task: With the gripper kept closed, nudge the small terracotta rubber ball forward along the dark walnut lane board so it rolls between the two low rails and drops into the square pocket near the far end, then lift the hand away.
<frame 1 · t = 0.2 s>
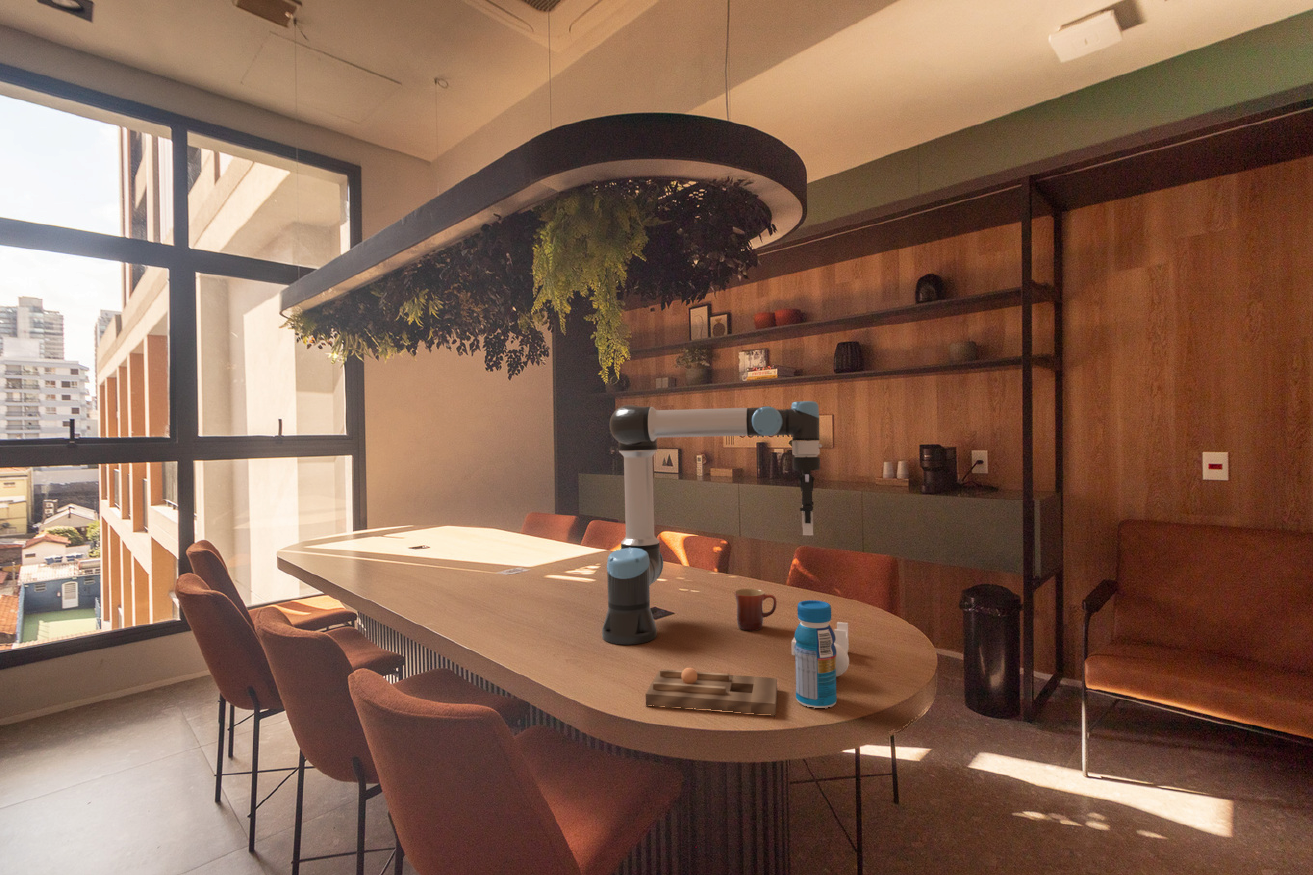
hand: (807, 531, 170), 28 cm above the table, tool pointing down, fingers open, 13 cm apart
bracket: (820, 655, 152), on the table
lane board: (713, 697, 127), on the table
ball: (689, 675, 128), point 4 cm above the table, touching lane board
pretzel: (823, 680, 136), on the table
mug: (755, 628, 173), on the table
beverage bottle: (816, 702, 124), on the table
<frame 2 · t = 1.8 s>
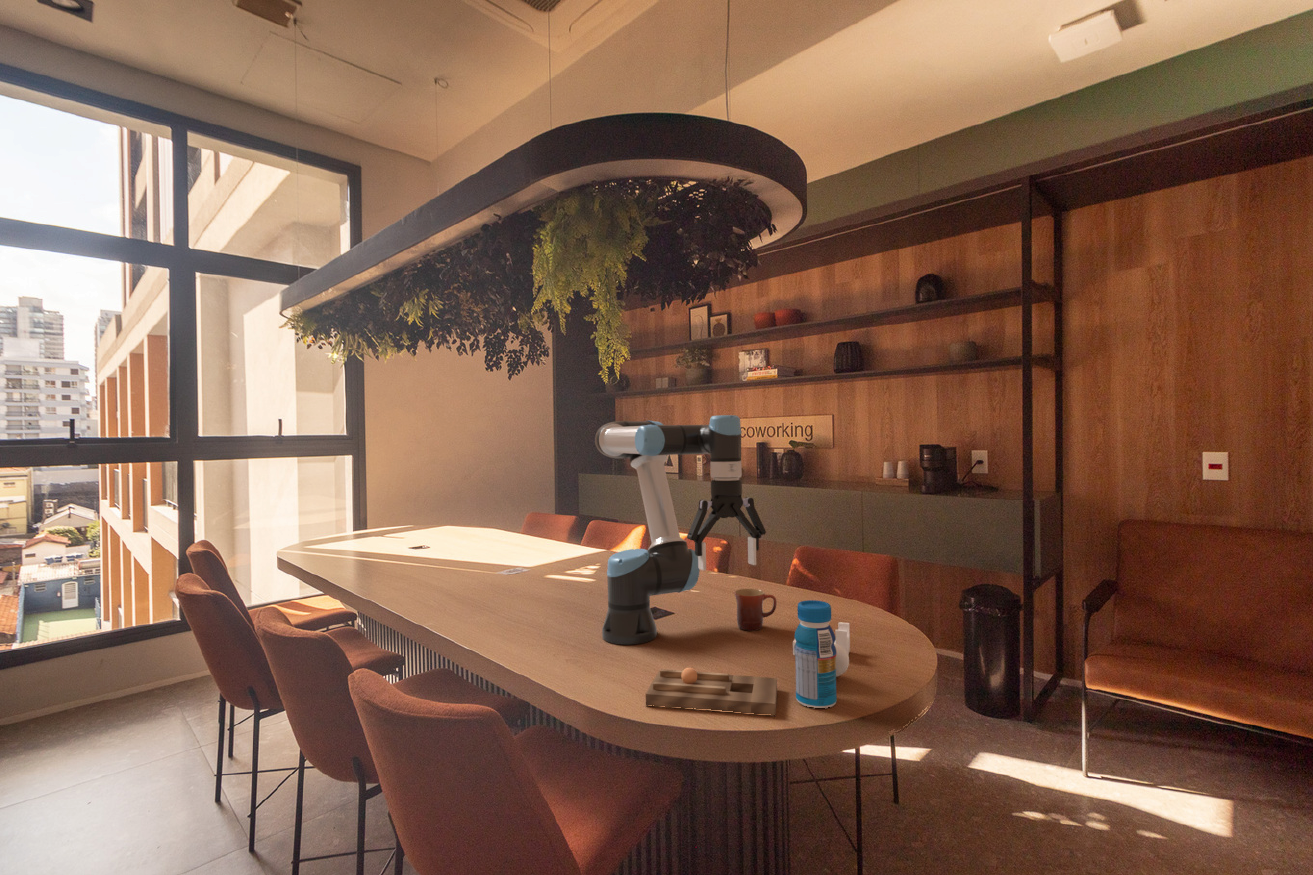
hand: (727, 566, 146), 23 cm above the table, tool pointing down, fingers open, 13 cm apart
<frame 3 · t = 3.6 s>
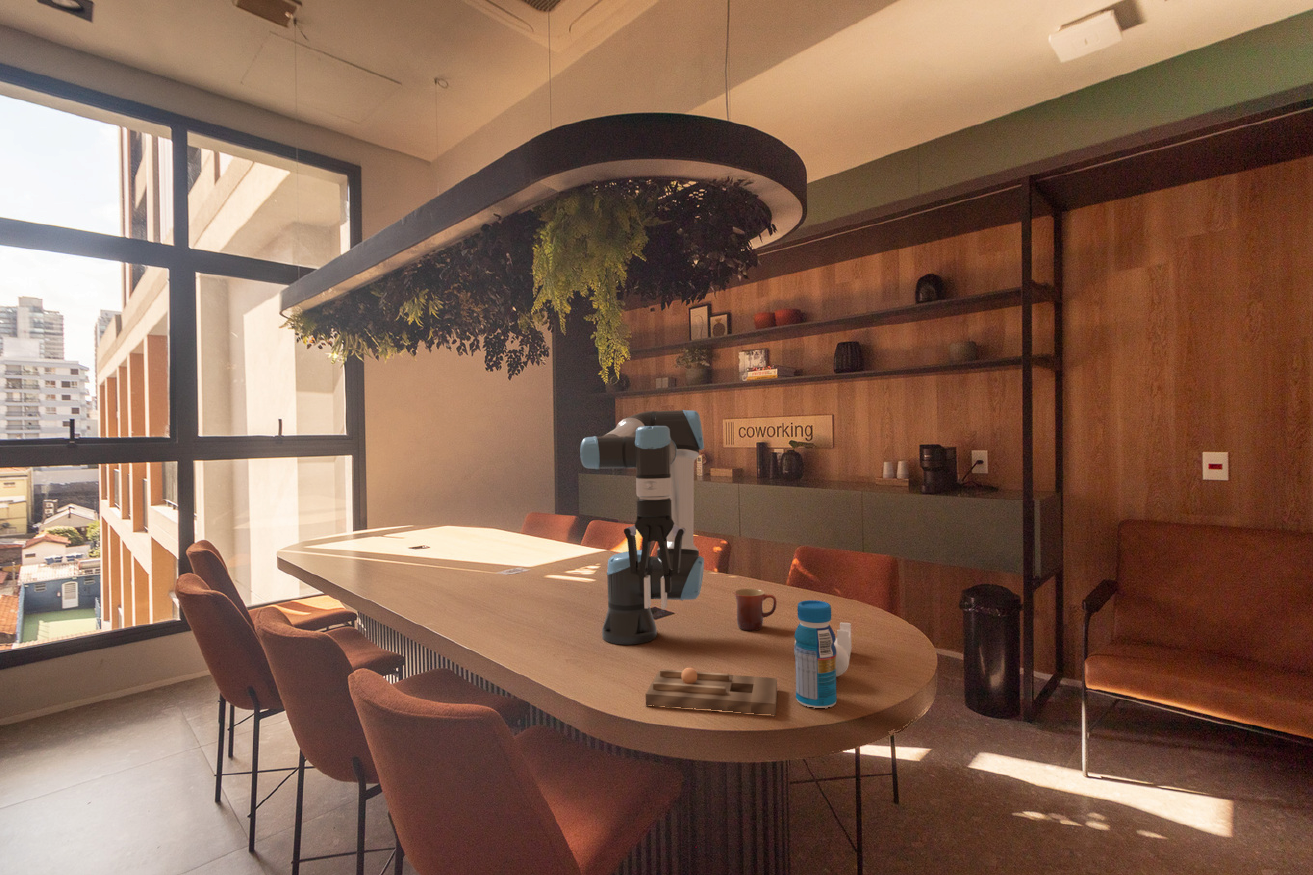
hand: (655, 606, 130), 19 cm above the table, tool pointing down, fingers open, 3 cm apart
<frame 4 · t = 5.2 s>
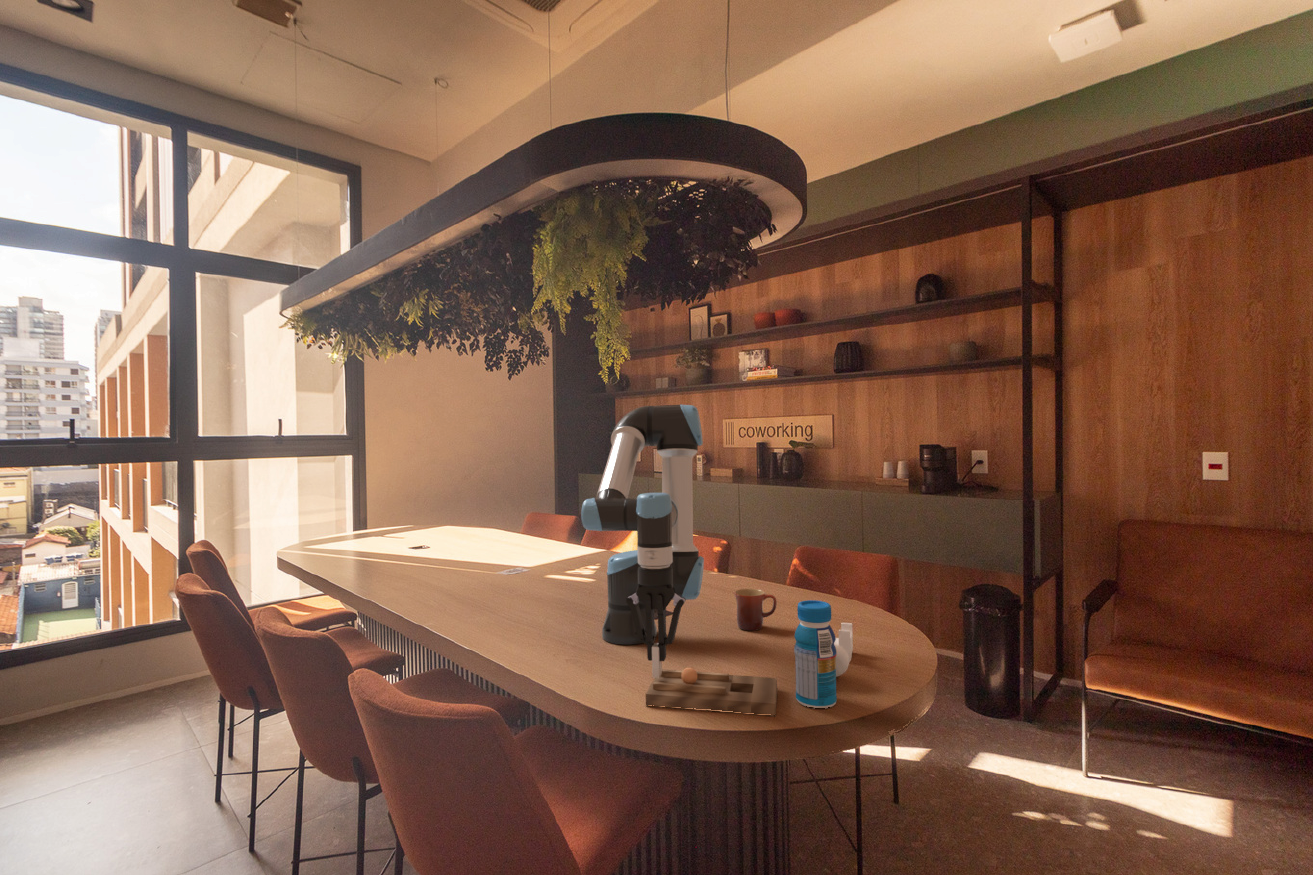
hand: (657, 675, 130), 4 cm above the table, tool pointing down, fingers closed
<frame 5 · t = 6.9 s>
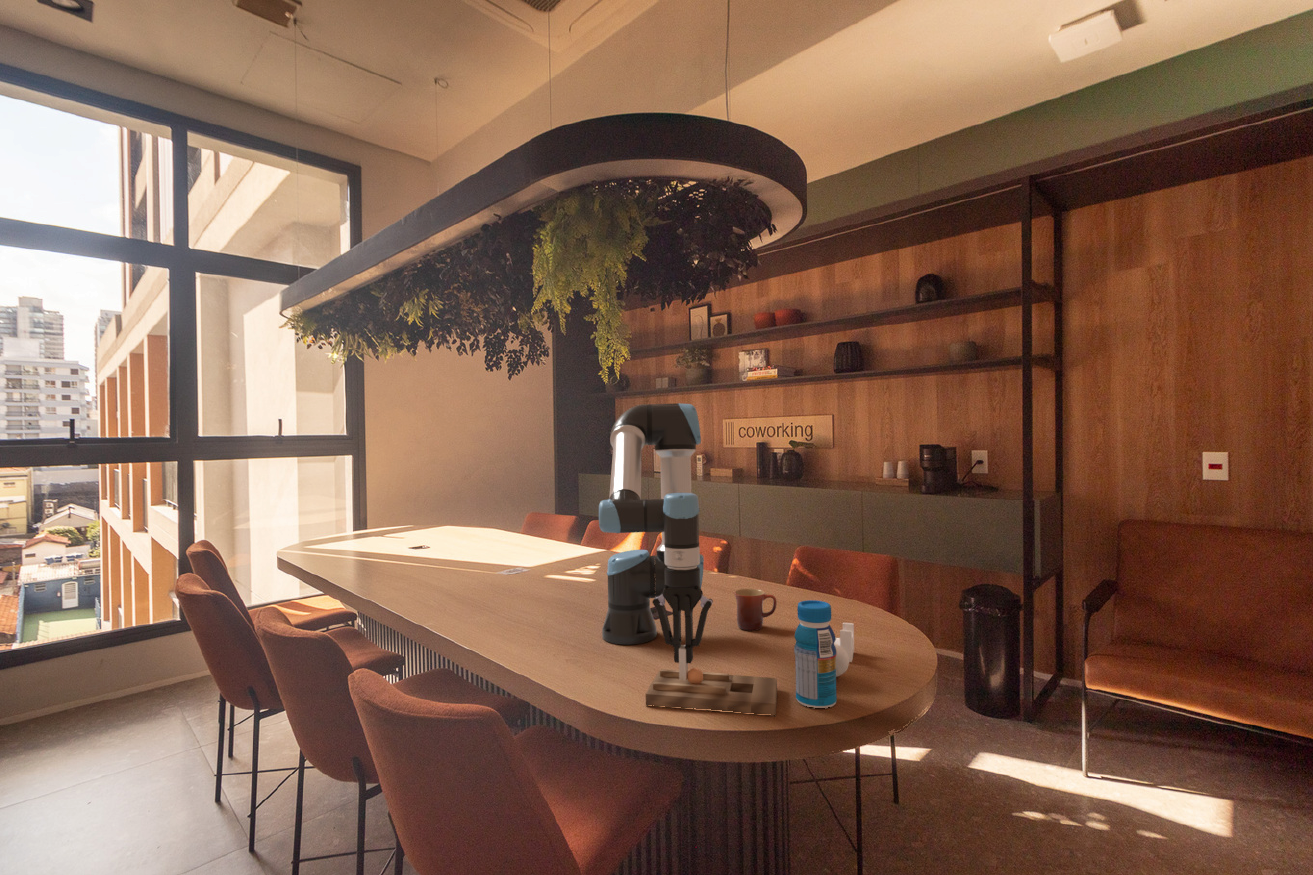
hand: (683, 677, 128), 4 cm above the table, tool pointing down, fingers closed
ball: (695, 676, 128), point 4 cm above the table, tilted 39°, touching gripper, lane board
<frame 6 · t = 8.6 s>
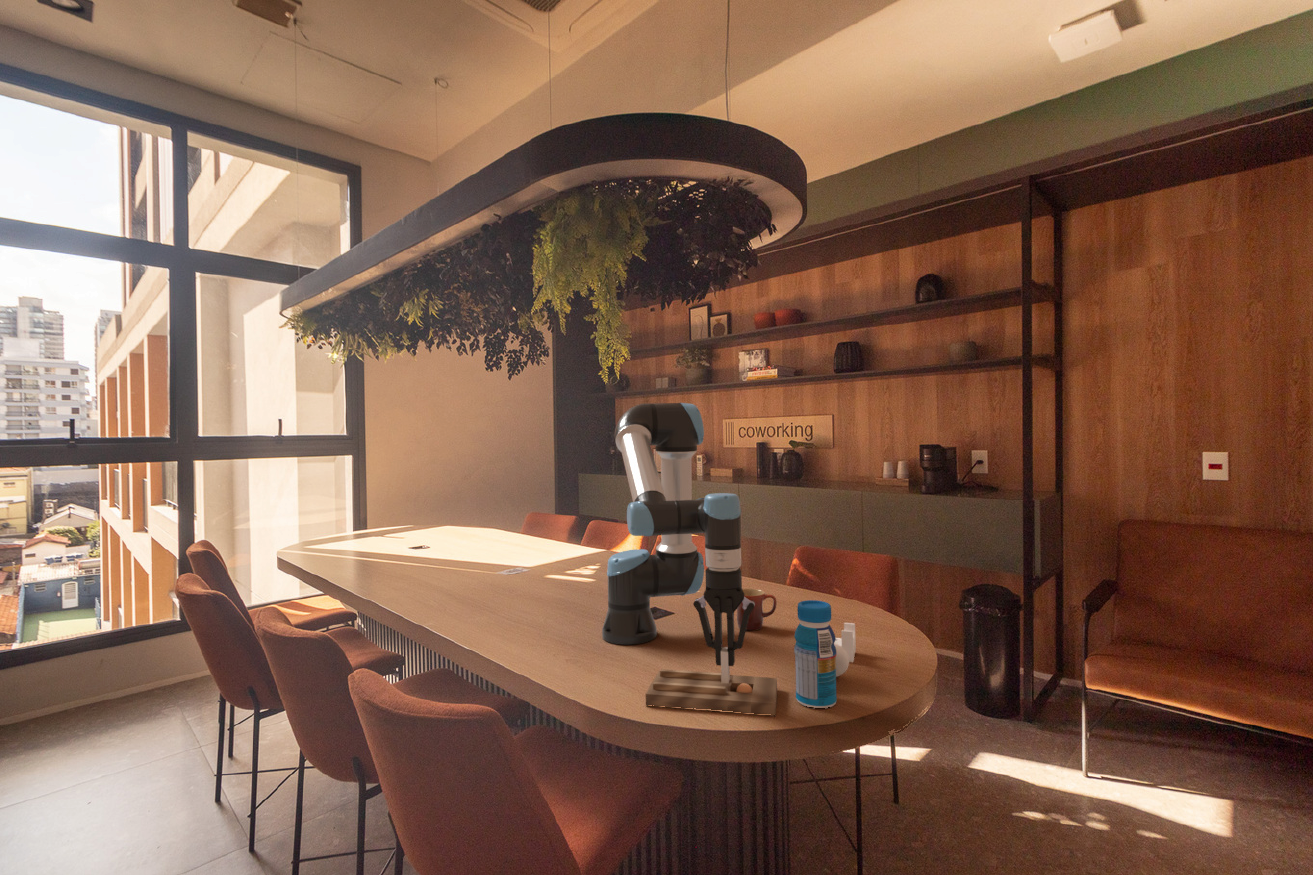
hand: (725, 680, 126), 4 cm above the table, tool pointing down, fingers closed
ball: (744, 691, 125), point 2 cm above the table, tilted 39°
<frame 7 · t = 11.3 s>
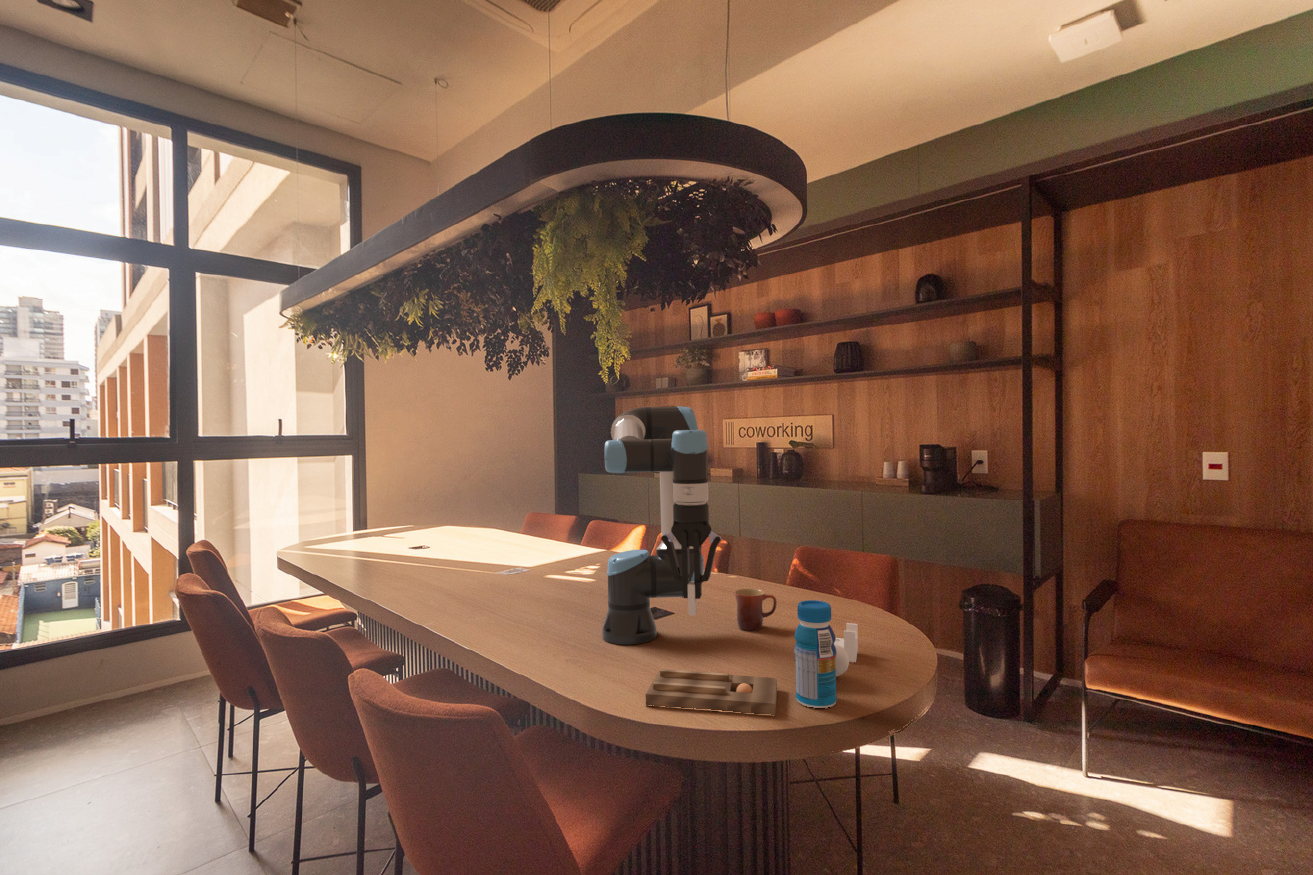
hand: (692, 613, 128), 17 cm above the table, tool pointing down, fingers closed
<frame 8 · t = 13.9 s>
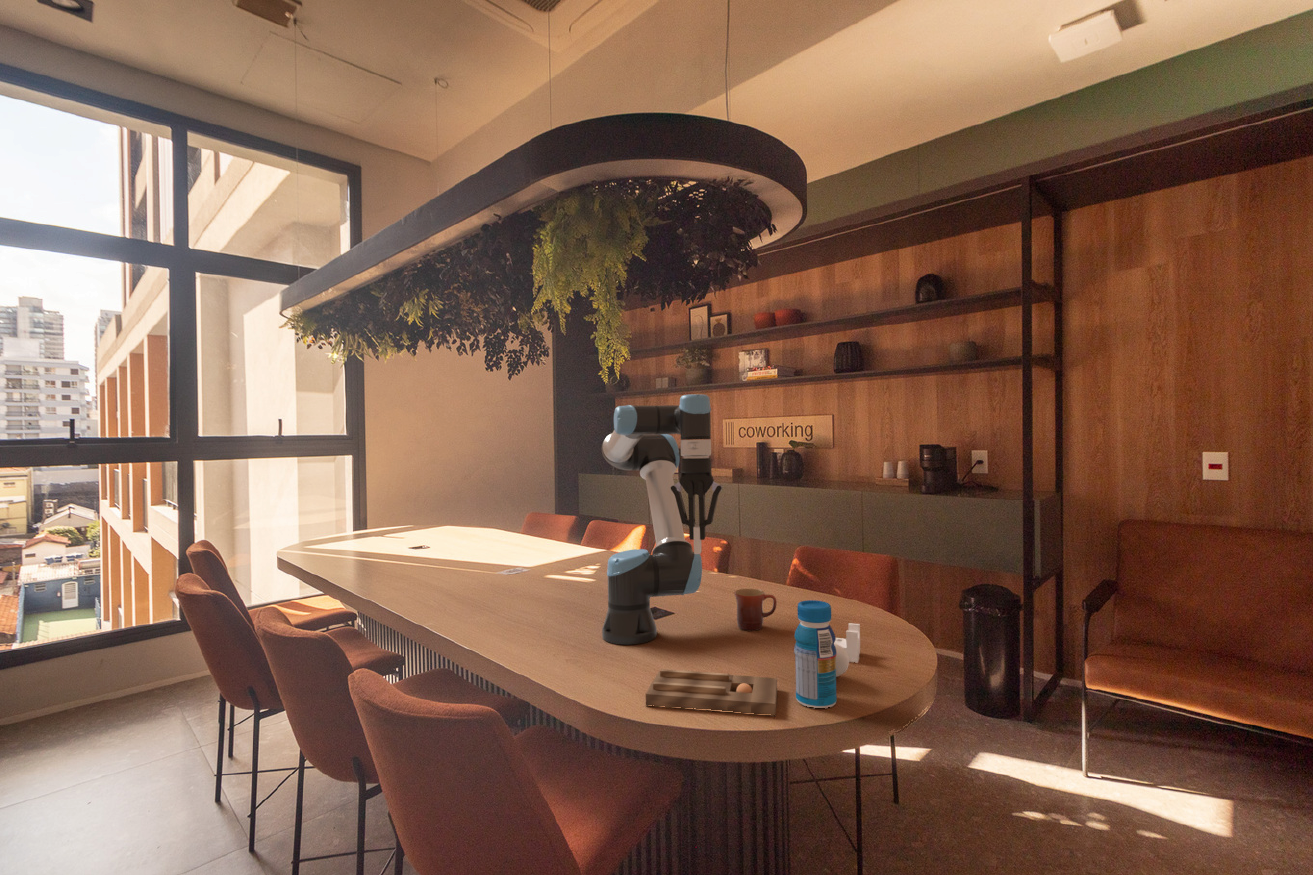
hand: (697, 552, 149), 26 cm above the table, tool pointing down, fingers closed
at the end: ball 0.5 cm from the target spot in the lane board, point 1.7 cm above the lane board's base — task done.
